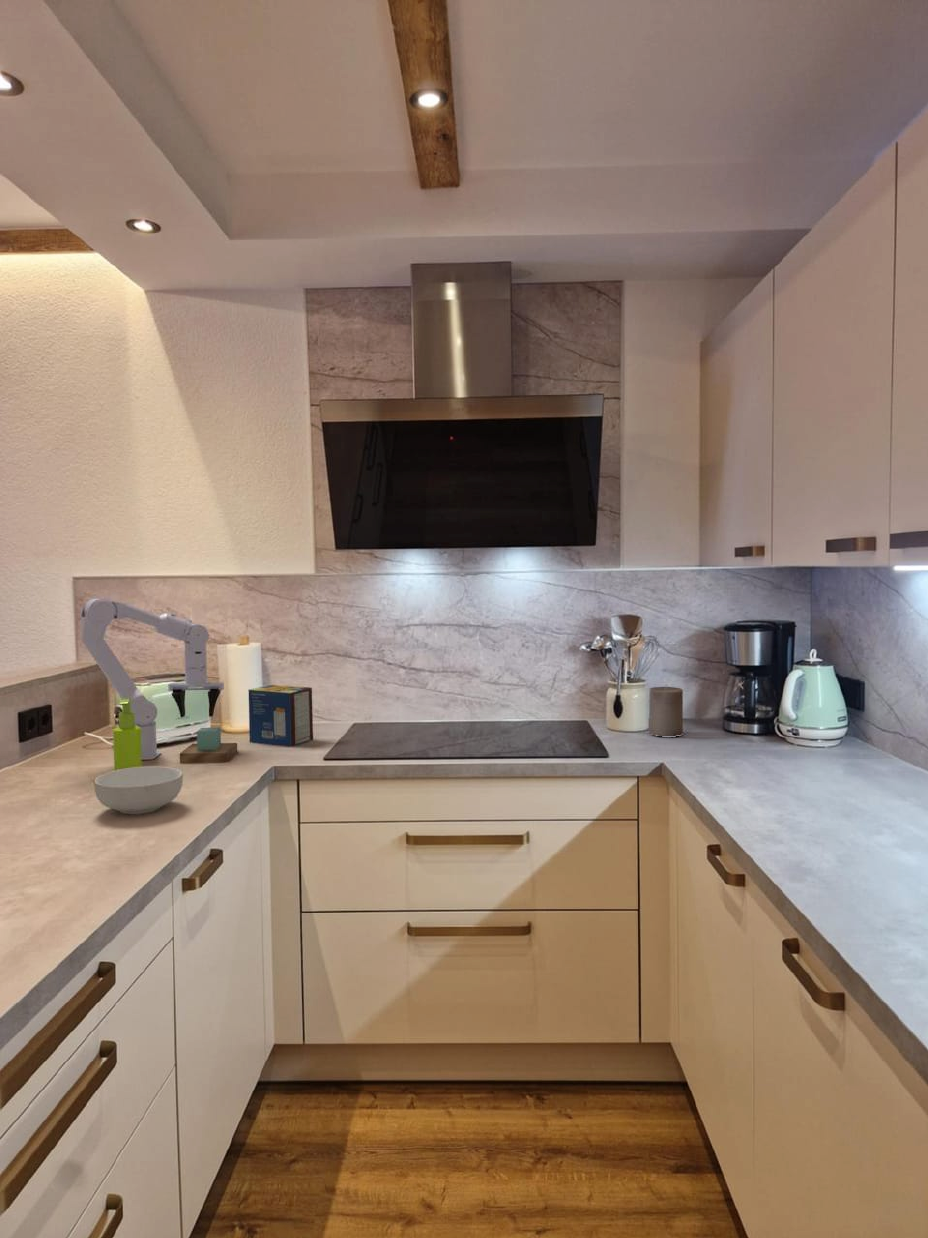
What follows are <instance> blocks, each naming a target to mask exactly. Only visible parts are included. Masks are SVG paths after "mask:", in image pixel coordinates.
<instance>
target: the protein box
mask: <svg viewBox="0 0 928 1238" xmlns="http://www.w3.org/2000/svg"><path fill="white" fill-rule="evenodd" d="M247 691H248V722H249V723H248V725H249V727H248V728H249V729H248V730H249V731H248V732H249V735H248V736H249V743H257V744H263V745H264V744H265V745H272V746H273V745H274V746H282V747H295V746H297V745H300V744H304V743H308V742H311V741H313V740H314V727H313V726H314V725H313V724H314V723H313V722H314V720H313V719H314V718H313V688H312V687H311V686H310V687H306V686H305V687H304V686H289V685H277V684H269V685H264V686H259V687H254V688H250V689H248V690H247Z"/></svg>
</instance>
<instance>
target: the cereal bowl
mask: <svg viewBox="0 0 928 1238" xmlns="http://www.w3.org/2000/svg"><path fill="white" fill-rule="evenodd" d="M183 777H184V774H183V771H181V769H178V768H175V767H169V766H160V765H159V766H157V765H155V766H154V765H152V766H151V765H150V766H149V765H147V766H143V765H142V767H133V768H125V769H120V770H115V771H114V770H112V771H109V772H105V773H102V774H101V775H99V776H97V777H96V778H95V779H94V783H93V785H94V792H95V796H96V798H97V800H98V802H100V804H101V805H102V806H105V807H106V808H109V809H112V810H116V811H118V812H119V813H121V814H125V815H140V814H141V815H142V814H147V813H148V814H149V813H152V812H155V811H157V810H159V809H160V808H161V807H163V806H165V805H167V804H169V803H170V802H172V801H173V800H175V799H176V798H177V797H178V795H179V794H180V793H181V789H182V787H183V781H184V780H183V779H184V778H183Z"/></svg>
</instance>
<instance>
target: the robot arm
mask: <svg viewBox="0 0 928 1238" xmlns="http://www.w3.org/2000/svg"><path fill="white" fill-rule="evenodd" d="M176 615H177V614H176V613H174V612H169V613H167V612H166V613H165V612H164V613H163V614H160V615H158V614H154V613H153V612H150V611H147V610H144V609H141V608H139V607H136V606H133V605H131V604H128V603H125V602H120V601H116V600H115V601H114V600H109V599H106V598H99V597H94V598H90V599H88V600H87V601H85V603H84V606H82V610H81V612H80V615H79V616H80V640H81V642H82V644H83V645H84V647H85V648H86V650H87V652H88V653H89V654H90V655H91V657H92V658H93V660H94V661H95V662H96V664H97V666H98V667H99V669H100V670H101V672H102V673H103V674H104V676H105V677H106V679H107V680H108V682H109V683H110V684H111V686H112V687H113V689H114V690H115V691H116V693H117V694H118V696H119V699H120V700H121V699H128V698H131V701H130V711H132V712H134V715H135V726H139V727H141V753H142V760H143V761H144V760H145V761H146V760H148V761H149V760H154V759H156V757H158V756H160V755H161V754H162V753H163V752H162V751H160V750H159V751H158V749H157V721H156V718H157V716H158V709H157V706H156V705H155V703H153V702H152V701H150V700H148V699H147V698H146V697H145V696H144V694H143V693H142V692H141V690H140V689H139V688H138V687H137V686H136V684H135V683H134V681H133V680H132V678H131V677H130V675H129V674H128V672H127V671H126V669H125V667H124V666H123V665H122V664H121V662H120V661H119V658H117V656H116V655H115V653H114V651H113V650H112V649H111V647H110V646H109V644H108V643H107V641H106V640H105V639H104V637H105V635H106V631H107V627H108V626H109V625H110V623H111V622H112V621H113V619H114V620H121V619H129V620H132V621H135V622H139V623H141V624H145V625H148V626H152V627H154V629H155V630H156V632H157V633H158V634H160V635H163V636H165V637H169V638H172V639H174V640H177V641H183V642H184V677H185V678H184V682H175V683H174V682H173V683H172V682H170V683H169V684H168V685H167V687H168V688H167V689H168V692H171V697H172V698H173V699H174V701H175V703H176V705H177V708H178V712H179V715H180V718H184V717H186V701H185V700H186V691H207V698H208V717H209V718H210V717H212V718H213V716H214V713H215V708H216V704H217V701H218V699H219V696H220V694H221V692H222V691H223V690H225V682H224V681H223V682H222V681H221V682H219V681H218V682H216V681H208V672H207V671H208V668H207V667H208V666H207V665H208V663H207V661H208V660H207V659H208V658H207V642H208V641H209V638H210V634H209V632H208V630H207V628H206V627H205V626H204V625H202V624H198V623H194V622H193V620H192V619H189V618H188V619H184V618H180V617H178V616H176Z"/></svg>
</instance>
